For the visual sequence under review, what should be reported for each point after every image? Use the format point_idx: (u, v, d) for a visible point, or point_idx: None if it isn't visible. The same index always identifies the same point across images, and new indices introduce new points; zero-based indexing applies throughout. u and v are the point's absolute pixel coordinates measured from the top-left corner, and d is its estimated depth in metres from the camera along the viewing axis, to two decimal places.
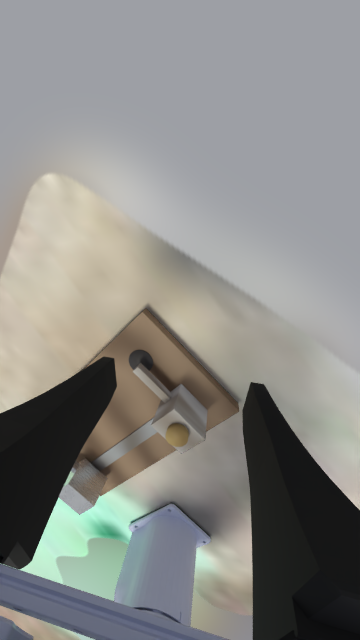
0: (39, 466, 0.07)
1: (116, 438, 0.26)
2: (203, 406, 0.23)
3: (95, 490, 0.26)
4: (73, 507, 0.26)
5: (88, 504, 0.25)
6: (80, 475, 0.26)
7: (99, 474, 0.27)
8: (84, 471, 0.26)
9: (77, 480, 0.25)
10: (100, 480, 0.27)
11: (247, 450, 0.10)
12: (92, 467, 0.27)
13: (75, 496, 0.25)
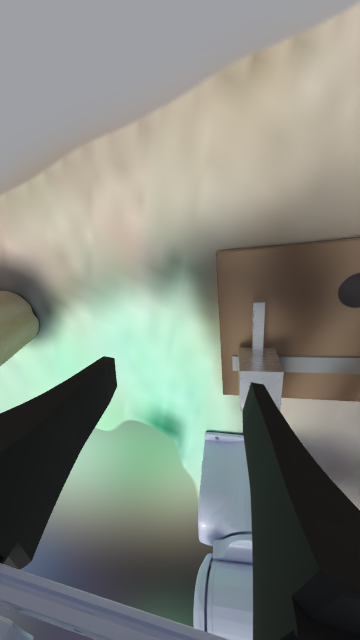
0: (39, 466, 0.07)
1: (343, 350, 0.18)
2: None
3: None
4: (244, 399, 0.17)
5: None
6: None
7: None
8: None
9: None
10: None
11: (247, 450, 0.10)
12: None
13: (269, 390, 0.16)
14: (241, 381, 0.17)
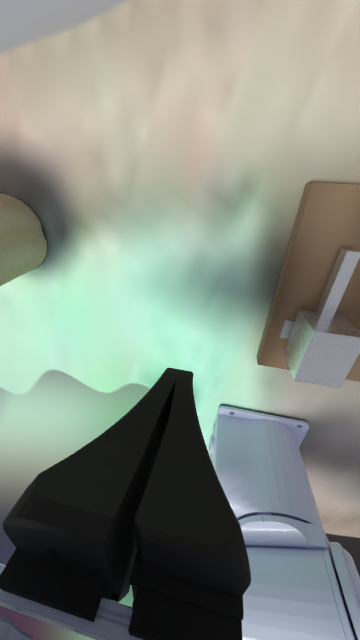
0: (141, 492, 0.07)
1: None
2: None
3: None
4: (304, 367, 0.15)
5: (337, 380, 0.15)
6: None
7: None
8: None
9: None
10: None
11: None
12: None
13: (339, 359, 0.14)
14: (310, 344, 0.14)
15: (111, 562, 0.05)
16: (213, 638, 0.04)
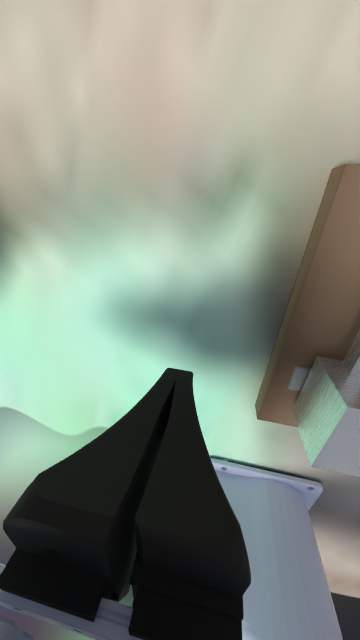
0: (141, 492, 0.07)
1: None
2: None
3: None
4: (328, 452, 0.10)
5: None
6: None
7: None
8: None
9: None
10: None
11: None
12: None
13: None
14: (339, 424, 0.09)
15: (111, 562, 0.05)
16: (213, 638, 0.04)
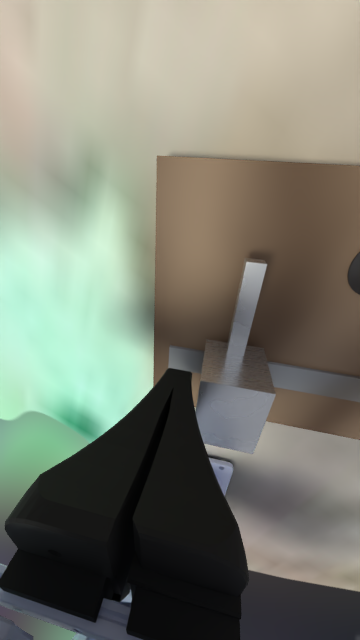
0: None
1: (331, 363, 0.12)
2: None
3: None
4: (200, 426, 0.10)
5: (247, 445, 0.10)
6: None
7: None
8: None
9: None
10: None
11: None
12: None
13: (243, 419, 0.10)
14: (200, 397, 0.09)
15: (113, 562, 0.05)
16: (211, 637, 0.04)
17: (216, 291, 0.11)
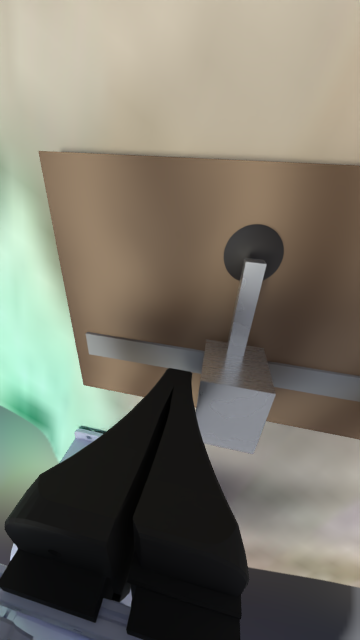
0: None
1: None
2: None
3: None
4: (200, 426, 0.10)
5: (247, 445, 0.10)
6: None
7: None
8: None
9: None
10: None
11: None
12: None
13: (243, 419, 0.10)
14: (200, 397, 0.09)
15: (113, 563, 0.05)
16: (211, 637, 0.04)
17: (116, 279, 0.12)
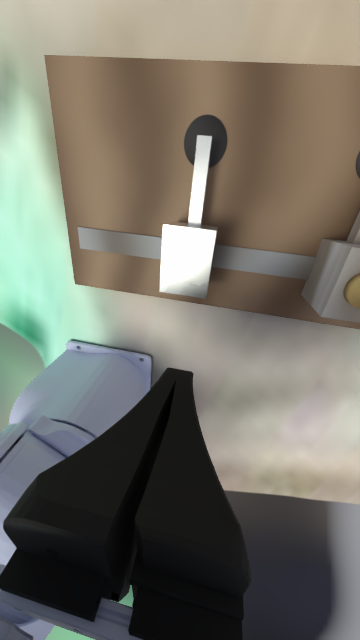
0: (141, 492, 0.07)
1: None
2: None
3: (208, 281, 0.15)
4: (165, 274, 0.13)
5: (201, 289, 0.14)
6: None
7: None
8: None
9: None
10: (209, 276, 0.16)
11: None
12: None
13: (196, 261, 0.13)
14: (164, 243, 0.13)
15: (111, 562, 0.05)
16: (213, 638, 0.04)
17: (102, 171, 0.15)
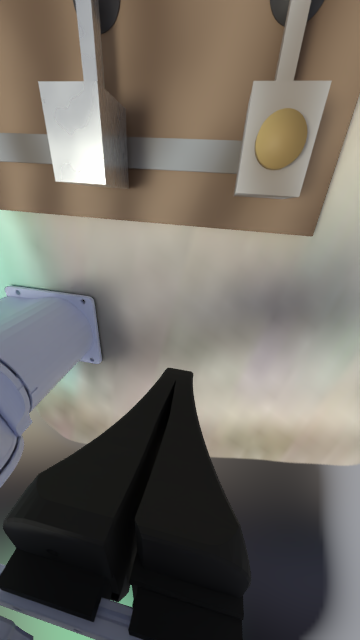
0: (141, 492, 0.07)
1: None
2: None
3: (115, 171, 0.13)
4: (56, 154, 0.12)
5: (98, 171, 0.12)
6: (112, 114, 0.12)
7: (125, 165, 0.14)
8: (117, 122, 0.12)
9: (107, 109, 0.11)
10: (123, 174, 0.14)
11: None
12: (125, 140, 0.13)
13: (84, 131, 0.11)
14: (45, 109, 0.11)
15: (111, 562, 0.05)
16: (213, 638, 0.04)
17: None
